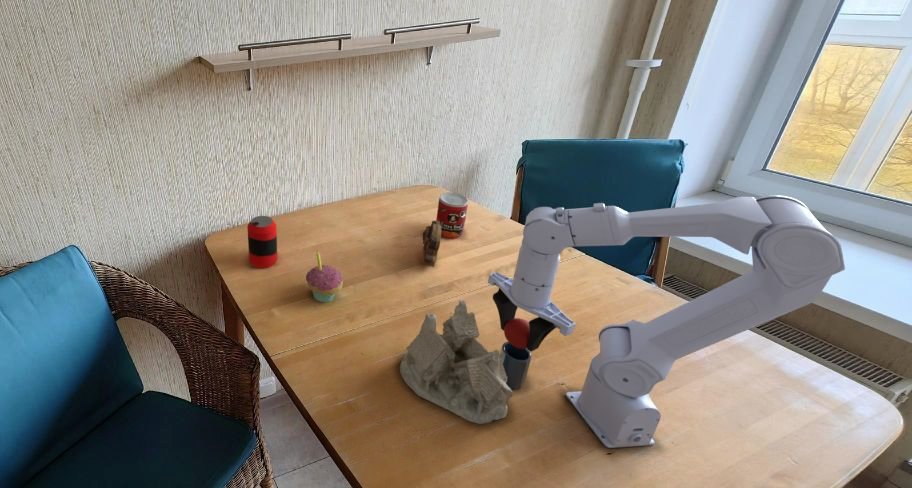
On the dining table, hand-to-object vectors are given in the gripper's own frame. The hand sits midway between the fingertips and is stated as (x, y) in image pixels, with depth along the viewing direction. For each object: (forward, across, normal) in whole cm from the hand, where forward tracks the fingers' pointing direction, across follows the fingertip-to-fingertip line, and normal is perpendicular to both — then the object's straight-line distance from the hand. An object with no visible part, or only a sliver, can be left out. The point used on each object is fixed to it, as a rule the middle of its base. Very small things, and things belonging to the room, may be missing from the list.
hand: (519, 338), depth 76 cm
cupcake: (+9, +34, +20) cm, 40 cm away
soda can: (+9, +53, +27) cm, 60 cm away
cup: (+9, 0, +1) cm, 9 cm away
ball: (-1, 0, 0) cm, 1 cm away
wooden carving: (+9, +34, -12) cm, 37 cm away
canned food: (+9, +41, -27) cm, 50 cm away
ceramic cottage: (+9, +3, +12) cm, 15 cm away
